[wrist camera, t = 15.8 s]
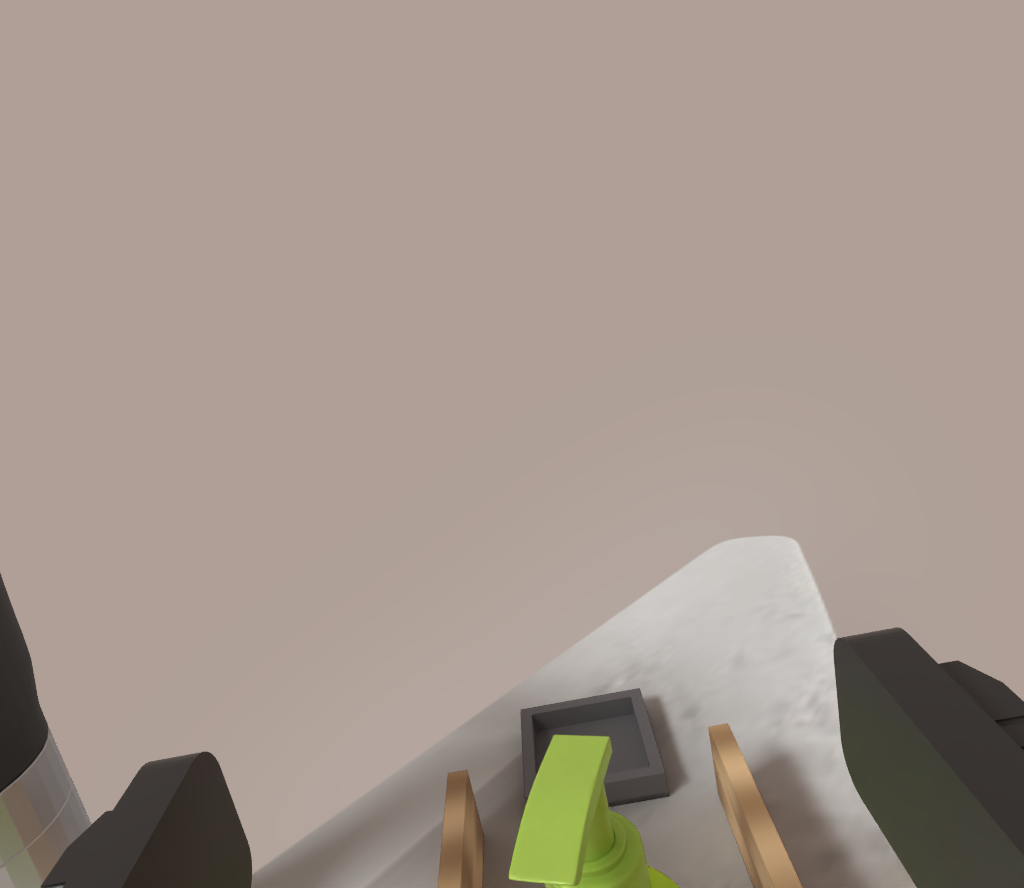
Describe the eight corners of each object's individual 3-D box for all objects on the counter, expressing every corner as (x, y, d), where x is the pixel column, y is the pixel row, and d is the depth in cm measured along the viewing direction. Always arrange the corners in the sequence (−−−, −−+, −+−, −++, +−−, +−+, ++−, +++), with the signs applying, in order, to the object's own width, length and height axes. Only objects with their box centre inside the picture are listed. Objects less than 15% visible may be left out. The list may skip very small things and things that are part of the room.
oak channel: (830, 1013, 34) (821, 928, 33) (452, 1075, 35) (427, 995, 34) (737, 790, 48) (727, 723, 46) (465, 837, 48) (447, 773, 47)
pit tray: (669, 796, 48) (665, 772, 48) (529, 820, 49) (524, 797, 48) (643, 708, 57) (639, 688, 56) (525, 729, 57) (520, 709, 57)
